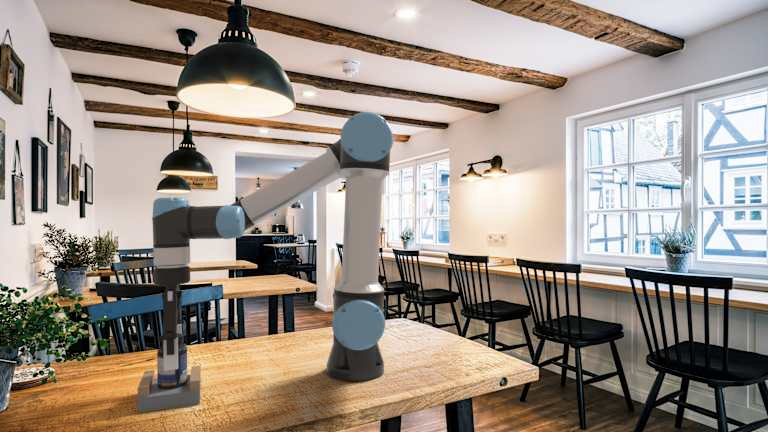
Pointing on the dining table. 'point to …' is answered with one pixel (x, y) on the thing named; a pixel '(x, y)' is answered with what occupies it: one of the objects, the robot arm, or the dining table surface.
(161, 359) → the pill bottle
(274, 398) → the dining table surface
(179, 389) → the display plinth
